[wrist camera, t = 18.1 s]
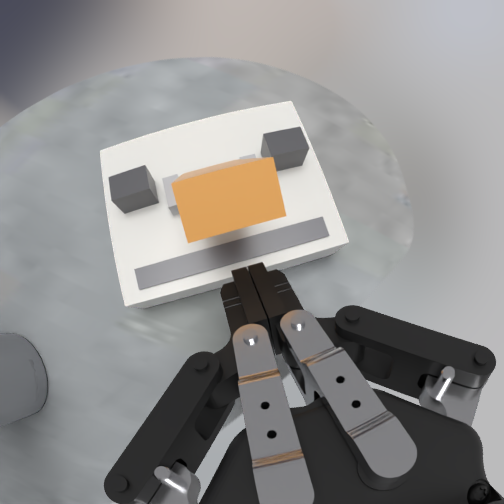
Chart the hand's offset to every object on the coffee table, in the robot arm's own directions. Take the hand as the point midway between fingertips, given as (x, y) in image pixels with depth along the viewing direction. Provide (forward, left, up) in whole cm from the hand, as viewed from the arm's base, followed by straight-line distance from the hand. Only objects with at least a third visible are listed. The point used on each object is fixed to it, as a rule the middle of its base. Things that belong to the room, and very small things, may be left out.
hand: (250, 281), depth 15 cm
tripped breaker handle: (-2, +8, -7) cm, 11 cm away
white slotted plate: (-2, +8, -14) cm, 16 cm away
